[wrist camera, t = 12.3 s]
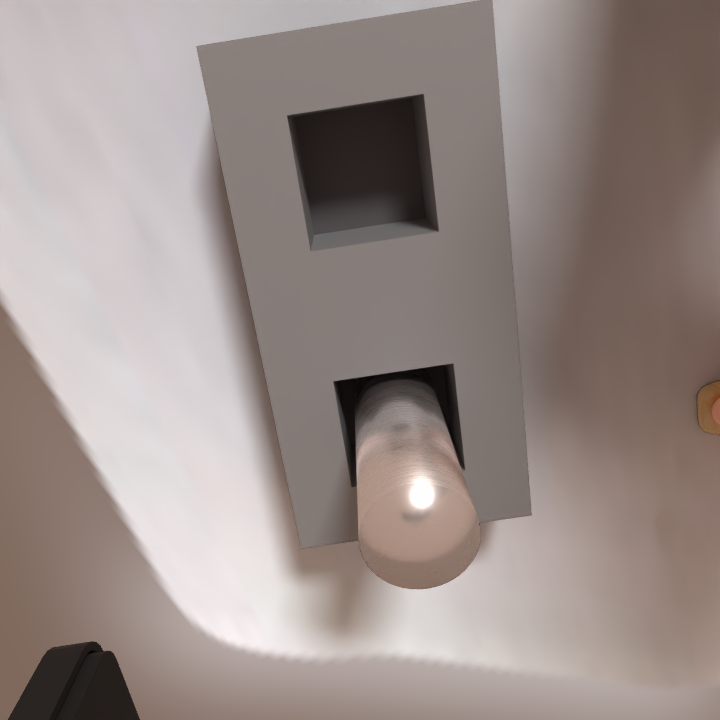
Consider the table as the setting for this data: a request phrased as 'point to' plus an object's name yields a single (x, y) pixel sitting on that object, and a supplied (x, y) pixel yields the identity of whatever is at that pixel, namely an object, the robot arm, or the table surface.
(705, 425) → the grandmother figurine
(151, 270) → the table surface
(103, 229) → the table surface
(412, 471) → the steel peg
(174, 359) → the table surface
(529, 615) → the table surface
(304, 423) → the hole block
